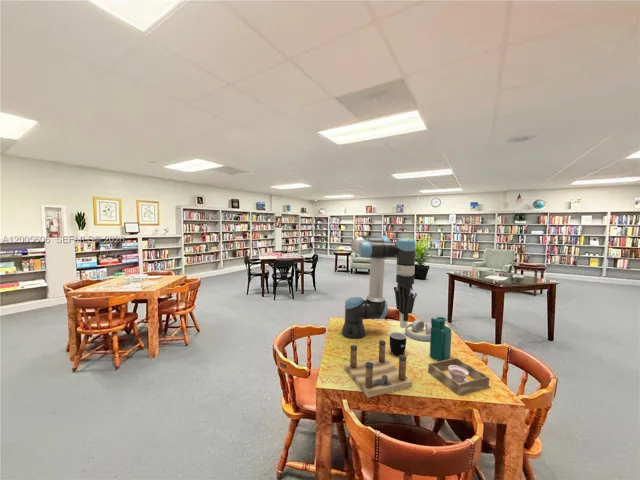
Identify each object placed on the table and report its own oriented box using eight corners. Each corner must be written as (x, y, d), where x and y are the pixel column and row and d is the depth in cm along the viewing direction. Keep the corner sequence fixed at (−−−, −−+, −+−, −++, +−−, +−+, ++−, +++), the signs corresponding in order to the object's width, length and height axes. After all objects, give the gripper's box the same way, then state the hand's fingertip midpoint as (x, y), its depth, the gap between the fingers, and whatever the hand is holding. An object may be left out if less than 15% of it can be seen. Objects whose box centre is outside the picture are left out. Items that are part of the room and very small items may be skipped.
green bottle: (437, 352, 145) (438, 313, 144) (451, 358, 138) (453, 318, 137) (426, 357, 140) (428, 317, 138) (441, 364, 133) (443, 322, 131)
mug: (400, 359, 137) (401, 340, 137) (386, 353, 143) (386, 335, 143) (411, 351, 146) (411, 334, 145) (396, 346, 152) (397, 329, 151)
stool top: (345, 369, 127) (345, 344, 126) (383, 361, 134) (384, 338, 133) (367, 397, 106) (368, 368, 105) (411, 387, 113) (412, 359, 113)
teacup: (478, 386, 115) (478, 372, 115) (463, 395, 109) (463, 381, 108) (452, 372, 125) (452, 360, 125) (437, 380, 119) (437, 367, 119)
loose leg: (396, 377, 116) (397, 355, 116) (402, 375, 117) (403, 354, 117) (401, 381, 113) (401, 359, 112) (407, 379, 114) (408, 357, 114)
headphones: (412, 325, 182) (401, 339, 167) (412, 315, 181) (400, 327, 165) (440, 332, 170) (430, 347, 155) (440, 321, 169) (430, 335, 154)
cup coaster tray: (428, 372, 125) (428, 363, 125) (455, 366, 131) (456, 357, 131) (458, 395, 108) (459, 384, 108) (488, 386, 114) (489, 377, 114)
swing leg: (367, 389, 107) (368, 366, 107) (363, 384, 110) (364, 362, 110) (389, 383, 111) (389, 362, 110) (384, 379, 114) (385, 358, 113)
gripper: (389, 272, 117) (387, 322, 119) (407, 277, 105) (406, 334, 106) (402, 271, 120) (401, 320, 121) (422, 276, 108) (420, 332, 109)
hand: (403, 327), depth 114 cm, fingers closed
